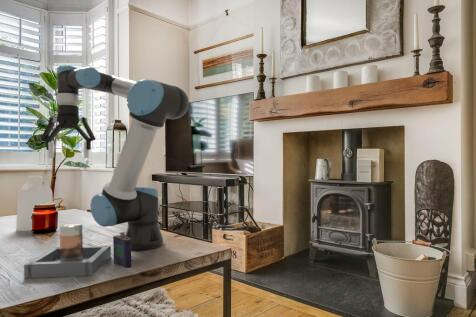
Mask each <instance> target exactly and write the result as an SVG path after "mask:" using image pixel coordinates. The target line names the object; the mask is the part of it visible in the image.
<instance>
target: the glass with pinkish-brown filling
mask: <svg viewBox="0 0 476 317" xmlns="http://www.w3.org/2000/svg"><path fill="white" fill-rule="evenodd" d="M83 237H84V235H83V224H82V223H81V224H80V223H72V224H70V223H69V224H64V225H61V226H59V247H60V261H83V246H84V240H83V239H84V238H83Z"/></svg>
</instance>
